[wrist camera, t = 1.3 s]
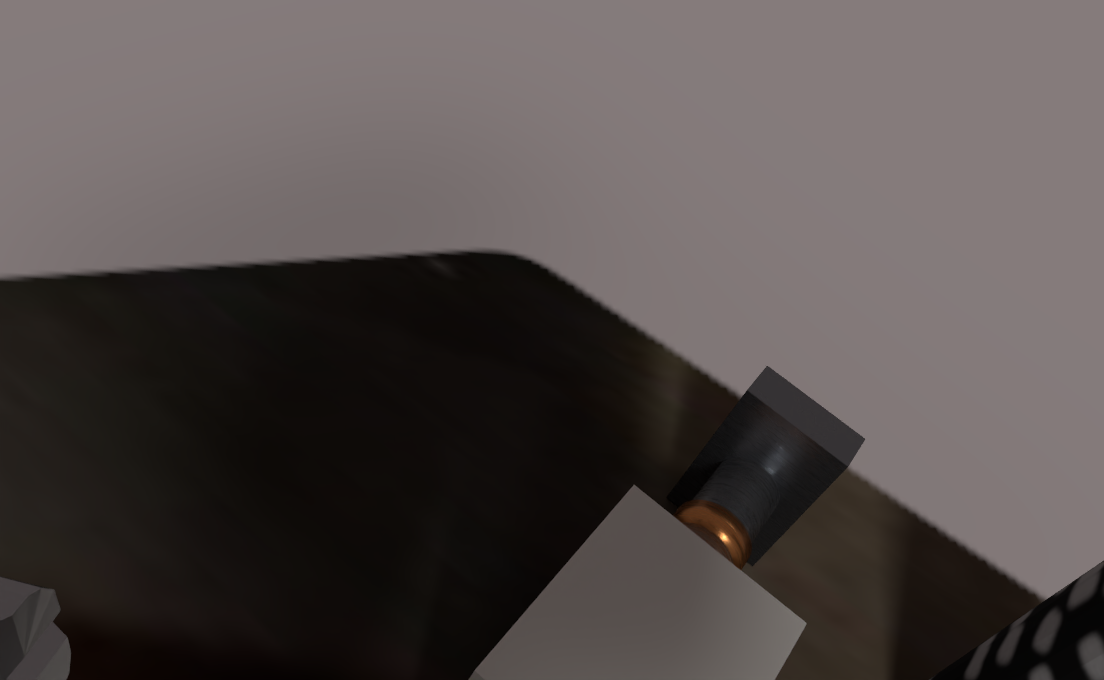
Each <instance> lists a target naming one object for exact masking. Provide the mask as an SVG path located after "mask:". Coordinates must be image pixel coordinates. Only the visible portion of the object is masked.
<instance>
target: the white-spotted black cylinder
mask: <svg viewBox="0 0 1104 680" xmlns="http://www.w3.org/2000/svg"><path fill="white" fill-rule="evenodd" d="M929 680H1104V561H1103V562H1101V563H1100V564H1098V565H1097V566H1095V567H1094V568H1092V569H1091V570H1089V571H1088V572H1087V573H1085V574H1083V575H1082V576H1080V577H1079V578H1078V579H1076V580H1075V581H1073V582H1072V583H1070V584H1069V585H1067V586H1066V587H1064V588H1063V589H1061V590H1060V591H1058V592H1057V593H1055V594H1054V595H1053V596H1051V597H1050V598H1048V599H1047V600H1045V601H1044V602H1042V603H1041V604H1039V605H1038V606H1036V607H1035V608H1033V609H1032V610H1030V611H1029V612H1028V613H1026V614H1025V615H1023V616H1022V617H1020V618H1019V619H1017V620H1016V621H1014V622H1013V623H1011V624H1010V625H1008V626H1007V627H1005V628H1004V629H1003V630H1001V631H1000V632H998V633H997V634H995V635H994V636H992V637H991V638H989V639H988V640H986V641H985V642H983V643H982V644H980V645H979V646H978V647H976V648H975V649H973V650H972V651H970V652H969V653H967V654H966V655H964V656H963V657H961V658H960V659H958V660H957V661H955V662H954V663H953V664H951V665H950V666H948V667H947V668H945V669H944V670H942V671H941V672H939V673H938V674H936V675H935V676H933V677H932V678H930V679H929Z"/></svg>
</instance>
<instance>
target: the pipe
mask: <svg viewBox="0 0 1104 680" xmlns="http://www.w3.org/2000/svg"><path fill="white" fill-rule="evenodd" d="M864 440H865V438H863V437H862V436H860V435H859V434H858V433H856V432H855V431H854V430H853V429H851V428H849V426H847V425H846V424H844V423H843V422H841V420H839V419H838V418H837V417H835V416H834V415H832V414H831V413H830V412H828V411H827V410H826V409H824V408H823V407H822V406H820V405H819V404H818V403H816V402H815V401H814V400H812V399H811V398H810V397H808V396H807V395H806V394H804V393H803V392H802V391H800V390H799V389H798V388H796V387H795V386H794V385H792V384H791V383H790V382H788V381H787V380H786V379H784V378H783V377H782V376H780V375H779V374H778V373H776V372H775V371H774V370H772V369H771V368H770V367H768V366H767V367H766V368H765V369H764V370H763V372H762V373H761V374H760V375H759V376H758V378H757V379H756V380H755V381H754V383H753V384H752V385H751V386H750V387H749V389H748V390H747V391H746V393H745V394H744V395H743V396H742V398H741V399H740V400H739V402H738V403H737V404H736V406H735V407H734V408H733V410H732V411H731V412H730V414H729V415H728V416H727V418H726V419H725V420H724V422H723V423H722V424H721V426H720V427H719V428H718V430H717V431H716V432H715V434H714V435H713V436H712V438H711V439H710V440H709V442H708V443H707V444H706V446H705V447H704V448H703V450H702V451H701V452H700V454H699V455H698V456H697V458H696V459H695V460H694V462H693V463H692V464H691V466H690V467H689V468H688V470H687V471H686V472H685V474H684V475H683V476H682V478H681V479H680V480H679V482H678V483H677V484H676V486H675V487H674V488H673V490H672V491H671V492H670V494H669V495H668V496H667V498H668V499H669V500H670V501H672V502H673V503H674V504H675V505H677V506H678V507H679V508H678V509H677V511H676V512H675V513H674V514H673V516H674V517H675V518H676V519H677V520H679V521H680V522H681V523H682V524H684V525H685V526H686V527H687V528H689V529H690V530H691V531H692V532H694V533H695V534H696V535H697V536H699V537H700V538H701V539H702V540H704V541H705V542H706V543H707V544H709V545H710V546H711V547H712V548H714V549H715V550H716V551H717V552H719V553H720V554H721V555H722V556H724V557H725V558H726V559H727V560H729V561H730V562H731V563H732V564H733V565H735V566H736V567H737V568H738V569H740V570H742V568H743V567H744V565H745V564H746V562H748V563H749V564H750V565H752V566H753V565H754V564H755V563H756V562H757V561H758V560H759V559H760V558H761V557H762V556H763V555H764V554H765V553H766V552H767V551H768V550H769V549H770V548H771V547H772V545H773V544H774V543H775V542H776V541H777V540H778V539H779V538H780V537H781V536H782V535H783V534H784V533H785V532H786V531H787V530H788V529H789V528H790V527H791V526H792V525H793V524H794V523H795V521H796V520H797V519H798V518H799V517H800V516H801V515H802V514H803V513H804V512H805V511H806V510H807V509H808V508H809V507H810V506H811V505H812V504H813V503H814V502H815V501H816V500H817V499H818V497H819V496H820V495H821V494H822V493H823V492H824V491H825V490H826V489H827V488H828V487H829V486H830V485H831V484H832V483H833V482H834V481H835V480H836V479H837V478H838V477H839V476H840V475H841V473H842V472H843V471H844V470H845V469H846V468H847V467H848V466H849V464H850V463H851V461H852V460H853V458H854V456H855V455H856V453H857V452H858V450H859V448H860V447H861V445H862V444H863V442H864Z"/></svg>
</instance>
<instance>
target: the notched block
mask: <svg viewBox="0 0 1104 680" xmlns="http://www.w3.org/2000/svg"><path fill="white" fill-rule="evenodd" d="M806 624H807V623H806V622H804V621H803V620H802V619H801V618H799V617H798V616H797V615H796V614H794V613H793V612H792V611H791V610H789V609H788V608H787V607H786V606H784V605H783V604H782V603H781V602H780V601H778V600H777V599H776V598H775V597H773V596H772V595H771V594H770V593H768V592H767V591H766V590H765V589H763V588H762V587H761V586H760V585H758V584H757V583H756V582H755V581H753V580H752V579H751V578H750V577H748V576H747V575H746V574H745V573H743V572H742V571H741V570H740V569H738V568H737V567H736V566H735V565H733V564H732V563H731V562H730V561H729V560H727V559H726V558H725V557H724V556H722V555H721V554H720V553H719V552H717V551H716V550H715V549H714V548H712V547H711V546H710V545H709V544H707V543H706V542H705V541H704V540H702V539H701V538H700V537H699V536H697V535H696V534H695V533H694V532H692V531H691V530H690V529H689V528H687V527H686V526H685V525H684V524H682V523H681V522H680V521H679V520H677V519H676V518H675V517H674V516H673V515H671V514H670V513H669V512H668V511H666V510H665V509H664V508H663V507H661V506H660V505H659V504H658V503H656V502H655V501H654V500H653V499H651V498H650V497H649V496H648V495H646V494H645V493H644V492H643V491H641V490H640V489H639V488H638V487H636V486H635V485H633V487H632V488H631V489H630V490H629V491H628V492H627V493H626V495H625V496H624V497H623V498H622V499H621V500H620V502H619V503H618V504H617V505H616V506H615V507H614V509H613V510H612V511H611V512H610V513H609V514H608V516H607V517H606V518H605V519H604V520H603V521H602V523H601V524H600V525H599V526H598V527H597V528H596V530H595V531H594V532H593V533H592V534H591V535H590V537H589V538H588V539H587V540H586V541H585V542H584V544H583V545H582V546H581V547H580V548H579V549H578V551H577V552H576V553H575V554H574V555H573V556H572V558H571V559H570V560H569V561H568V562H567V563H566V565H565V566H564V567H563V568H562V569H561V570H560V572H559V573H558V574H557V575H556V576H555V577H554V579H553V580H552V581H551V582H550V583H549V584H548V585H547V587H546V588H545V589H544V590H543V591H542V592H541V594H540V595H539V596H538V597H537V598H536V599H535V601H534V602H533V603H532V604H531V605H530V606H529V608H528V609H527V610H526V611H525V612H524V613H523V615H522V616H521V617H520V618H519V619H518V620H517V622H516V623H515V624H514V625H513V626H512V627H511V629H510V630H509V631H508V632H507V633H506V634H505V636H504V637H503V638H502V639H501V640H500V641H499V643H498V644H497V645H496V646H495V647H494V648H493V650H492V651H491V652H490V653H489V654H488V655H487V657H486V658H485V659H484V660H483V661H482V662H481V664H480V665H479V666H478V667H477V668H476V669H475V671H474V672H473V674H472V675H471V677H470V678H469V680H775V678H776V677H777V675H778V673H779V671H780V670H781V668H782V666H783V664H784V663H785V661H786V659H787V657H788V656H789V654H790V652H791V650H792V649H793V647H794V645H795V643H796V642H797V640H798V638H799V636H800V635H801V633H802V631H803V629H804V628H805V626H806Z"/></svg>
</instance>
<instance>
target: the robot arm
mask: <svg viewBox="0 0 1104 680" xmlns="http://www.w3.org/2000/svg"><path fill="white" fill-rule="evenodd" d="M59 612H60V607H59V603H58V600H57V597H56V594H55V591H54V590H53V589H49V588H45V587H41V586H37V585H33V584H29V583H25V582H21V581H17V580H13V579H9V578H5V577H1V576H0V680H66V679H67V677H68V674H69V670H70V658H71V651H70V646H69V642H68V637H67V636H66V635H65V634H64V633H63V632H62V631H61V630H60V629H59V628H58V627H57V626H56V625H55V624H54V623H53V622H52V621H53V620H54V618H55V617H56V616H57V614H58V613H59Z"/></svg>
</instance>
